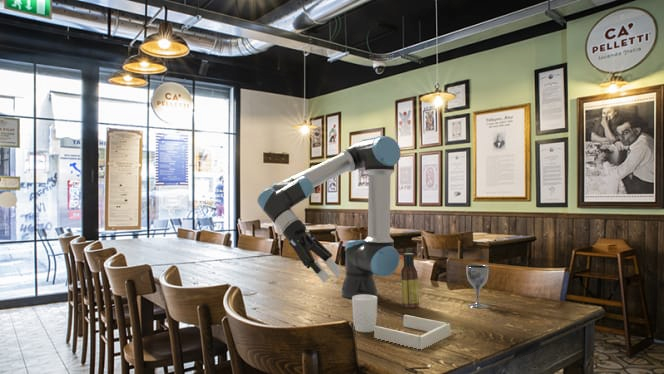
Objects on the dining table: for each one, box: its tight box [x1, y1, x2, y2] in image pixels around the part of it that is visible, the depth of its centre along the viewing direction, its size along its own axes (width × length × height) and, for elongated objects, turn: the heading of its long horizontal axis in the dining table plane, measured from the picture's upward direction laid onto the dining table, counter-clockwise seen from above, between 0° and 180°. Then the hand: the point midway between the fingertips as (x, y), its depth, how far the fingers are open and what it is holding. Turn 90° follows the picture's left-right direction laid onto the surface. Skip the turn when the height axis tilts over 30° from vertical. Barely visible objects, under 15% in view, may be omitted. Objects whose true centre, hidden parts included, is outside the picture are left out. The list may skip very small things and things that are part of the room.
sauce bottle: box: [400, 252, 420, 309], centre depth 168 cm, size 7×6×20 cm
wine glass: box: [466, 264, 489, 309], centre depth 169 cm, size 8×8×15 cm
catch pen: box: [373, 314, 451, 351], centre depth 132 cm, size 16×17×4 cm
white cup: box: [351, 294, 378, 333], centre depth 140 cm, size 8×8×10 cm
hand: (333, 277), depth 144 cm, fingers open, 9 cm apart
